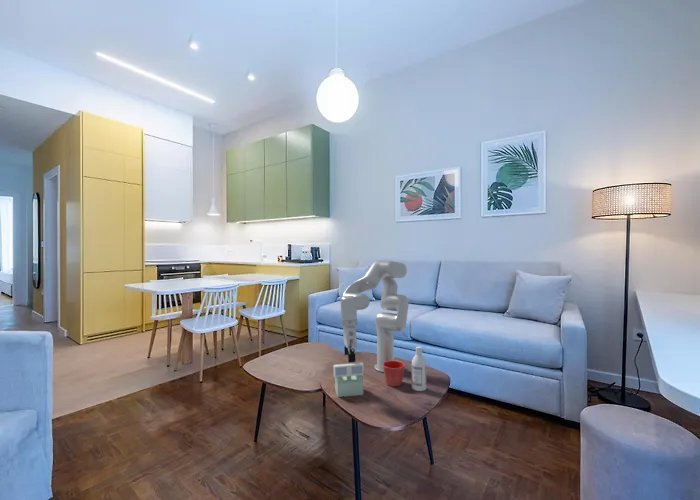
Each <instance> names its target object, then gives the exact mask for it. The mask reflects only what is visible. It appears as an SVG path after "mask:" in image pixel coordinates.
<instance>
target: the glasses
mask: <svg viewBox="0 0 700 500" xmlns="http://www.w3.org/2000/svg"><path fill="white" fill-rule="evenodd" d="M364 367H365V366H364V362H352V363H341V364H333V378H335V377H347V376H359V375H362V376H364V371H365V370H364Z"/></svg>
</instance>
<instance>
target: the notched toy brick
mask: <svg viewBox="0 0 700 500" xmlns="http://www.w3.org/2000/svg"><path fill="white" fill-rule="evenodd" d="M334 390H335V393H336V397H337V398H340V397H341V398H342V397H343V396H344V397H352V396H353V397H354V396H363V395H364V375H359V376H347V377H334Z"/></svg>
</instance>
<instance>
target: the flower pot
mask: <svg viewBox="0 0 700 500" xmlns="http://www.w3.org/2000/svg"><path fill="white" fill-rule="evenodd" d="M399 361H400V360H398V361H396V360H395V361H387V362H385V363H383V368H384V372H383V373H384V379H385V384H386V385H387V386H389V387H400V386H402V384H403V378H404V375H405V373H404V372H405V366H406V364H405V363H404V362H403V361H402V362H399Z"/></svg>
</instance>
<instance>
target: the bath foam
mask: <svg viewBox="0 0 700 500" xmlns="http://www.w3.org/2000/svg"><path fill="white" fill-rule="evenodd" d="M411 389H412V390H413V391H417V392H424V391H426V390H427V361H426V359H425V358H424V356H423V348H422V346H416V347H415V355H414V356H413V358H412V360H411Z"/></svg>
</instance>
